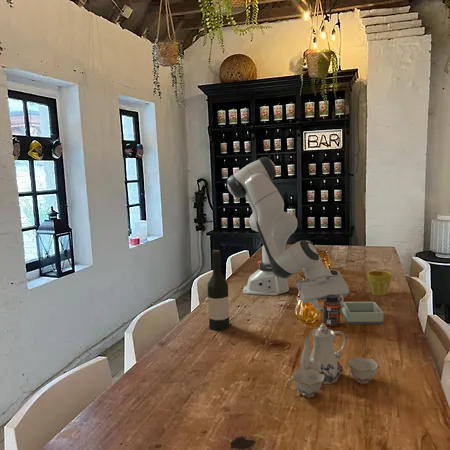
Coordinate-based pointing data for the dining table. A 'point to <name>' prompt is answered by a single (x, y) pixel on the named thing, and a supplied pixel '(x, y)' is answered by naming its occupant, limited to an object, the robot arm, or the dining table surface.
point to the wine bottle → (218, 296)
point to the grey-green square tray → (362, 313)
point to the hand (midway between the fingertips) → (331, 308)
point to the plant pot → (379, 282)
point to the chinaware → (327, 363)
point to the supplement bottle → (332, 311)
